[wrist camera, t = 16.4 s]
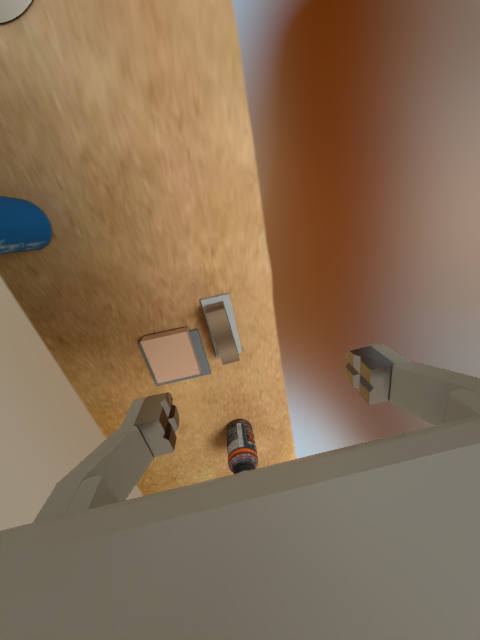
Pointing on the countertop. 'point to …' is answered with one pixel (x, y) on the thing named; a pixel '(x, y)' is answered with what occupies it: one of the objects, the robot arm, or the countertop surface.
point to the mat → (200, 354)
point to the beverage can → (22, 226)
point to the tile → (171, 354)
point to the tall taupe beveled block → (222, 332)
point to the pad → (229, 310)
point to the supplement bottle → (241, 447)
